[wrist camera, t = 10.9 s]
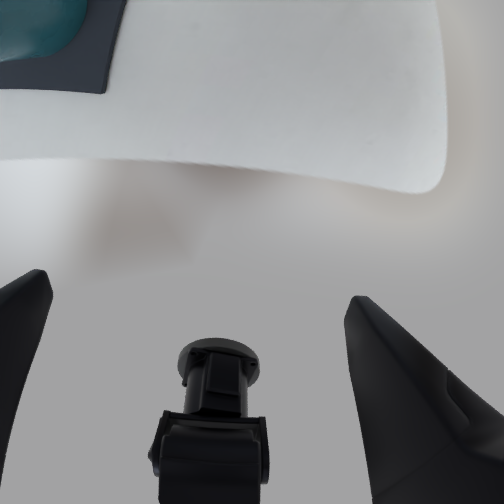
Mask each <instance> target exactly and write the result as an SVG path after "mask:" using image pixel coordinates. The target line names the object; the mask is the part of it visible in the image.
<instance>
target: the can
mask: <svg viewBox="0 0 504 504" xmlns="http://www.w3.org/2000/svg"><path fill="white" fill-rule="evenodd" d="M86 10H87V0H0V62H5V61H12V60H19V59H28V58H38V57H46V56H50V55H52V54H54V53H56V52H58V51H60V50H61V49H62V48H64V47H65V46H66V45H67V44H68V43H69V42H70V41H71V40H72V39H73V38H74V36H75V35H76V34H77V32H78V31H79V29H80V27H81V25H82V23H83V21H84V18H85V15H86Z"/></svg>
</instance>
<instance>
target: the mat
mask: <svg viewBox="0 0 504 504" xmlns="http://www.w3.org/2000/svg"><path fill="white" fill-rule="evenodd" d="M125 3H126V0H87V10H86V15H85V18H84V21H83V23H82V25H81V27H80V29H79V31H78V32H77V34H76V35H75V36H74V38H73V39H72V40H71V41H70V42H69V43H68V44H67V45H66V46H65V47H64V48H62V49H61V50H60V51H58V52H56V53H54V54H52V55H50V56H46V57H38V58H28V59H19V60H12V61H5V62H0V89H39V90H59V91H73V92H85V93H95V94H103V93H105V88H106V83H107V77H108V72H109V67H110V62H111V58H112V53H113V49H114V44H115V40H116V36H117V32H118V28H119V24H120V20H121V17H122V13H123V10H124V6H125Z"/></svg>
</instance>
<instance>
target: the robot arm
mask: <svg viewBox="0 0 504 504" xmlns="http://www.w3.org/2000/svg"><path fill="white" fill-rule="evenodd" d="M52 300H53V290H52V287H51V285H50V281H49V278H48V275H47V273H46V272H45V271H44V270H38V269H34V270H32V271H30V272H28V273H26V274H24V275H23V276H21V277H19V278H18V279H16V280H14V281H13V282H11V283H9V284H7V285H6V286H4V287H2V288H1V289H0V485H1V479H2V473H3V468H4V462H5V457H6V455H5V454H6V452H7V447H8V443H9V438H10V434H11V430H12V426H13V422H14V419H15V415H16V411H17V408H18V404H19V401H20V398H21V394H22V391H23V388H24V385H25V382H26V379H27V375H28V373H29V370H30V367H31V364H32V361H33V358H34V356H35V353H36V350H37V348H38V345H39V342H40V339H41V336H42V333H43V329H44V326H45V322H46V319H47V316H48V312H49V309H50V306H51V303H52ZM344 328H345V336H346V346H347V355H348V364H349V372H350V377H351V382H352V386H353V391H354V396H355V401H356V406H357V411H358V416H359V421H360V427H361V432H362V438H363V444H364V449H365V454H366V461H367V467H368V474H369V480H370V487H371V494H372V502H373V504H504V416H503V415H502V414H500V413H499V412H498V411H497V410H495V409H494V408H493V407H492V406H490V405H489V404H488V403H486V402H485V401H484V400H483V399H482V398H481V397H479V396H478V395H477V394H476V393H475V392H473V391H472V390H471V389H470V388H469V387H468V386H467V385H465V384H464V383H463V382H462V381H461V380H460V379H459V378H458V377H456V375H454V374H453V373H452V372H451V371H450V370H448V368H447V367H446V366H445V365H443V363H441V362H440V361H439V360H438V359H437V358H436V357H435V356H434V355H433V354H432V353H431V352H430V351H428V350H427V349H426V348H425V347H424V346H423V345H422V344H421V343H420V342H419V341H417V340H416V339H415V338H414V337H413V336H412V335H411V334H410V333H409V332H407V331H406V330H405V329H404V328H403V327H402V326H401V325H400V324H398V323H397V322H396V321H395V320H394V319H393V318H392V317H390V316H389V315H388V314H387V313H386V312H385V311H383V310H382V309H381V308H380V307H379V306H378V305H377V304H376V303H374V302H373V301H372V300H371V299H370V298H369V297H367V296H354V297H353V298H352V299H351V302H350V304H349V307H348V310H347V312H346V315H345V318H344ZM257 366H258V359H257V358H253V357H247V356H240V355H235V354H229V353H223V352H218V351H212V350H207V349H202V348H197V347H191V348H190V349H189V352H188V357H187V362H186V367H185V371H184V376H183V381H182V385H183V386H184V387H187V389H186V396H185V404H184V411H183V413H176V412H171V411H167V410H164V412H163V416H162V417H161V418H160V421H159V425H158V428H157V432H156V435H155V439H154V442H153V444H152V446H151V448H150V450H149V452H148V458H149V459H150V461H151V462H152V466H153V472H154V475H155V476H156V477H159V496H158V500H159V503H160V504H260V484H267V483H268V479H269V464H270V463H269V446H268V437H267V428H266V420H265V417H259V418H256V417H248V416H247V415H248V412H247V411H248V408H247V386H248V384H249V382H250V381H251V379H252V377H253V375H254V373H255V371H256V369H257Z"/></svg>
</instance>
